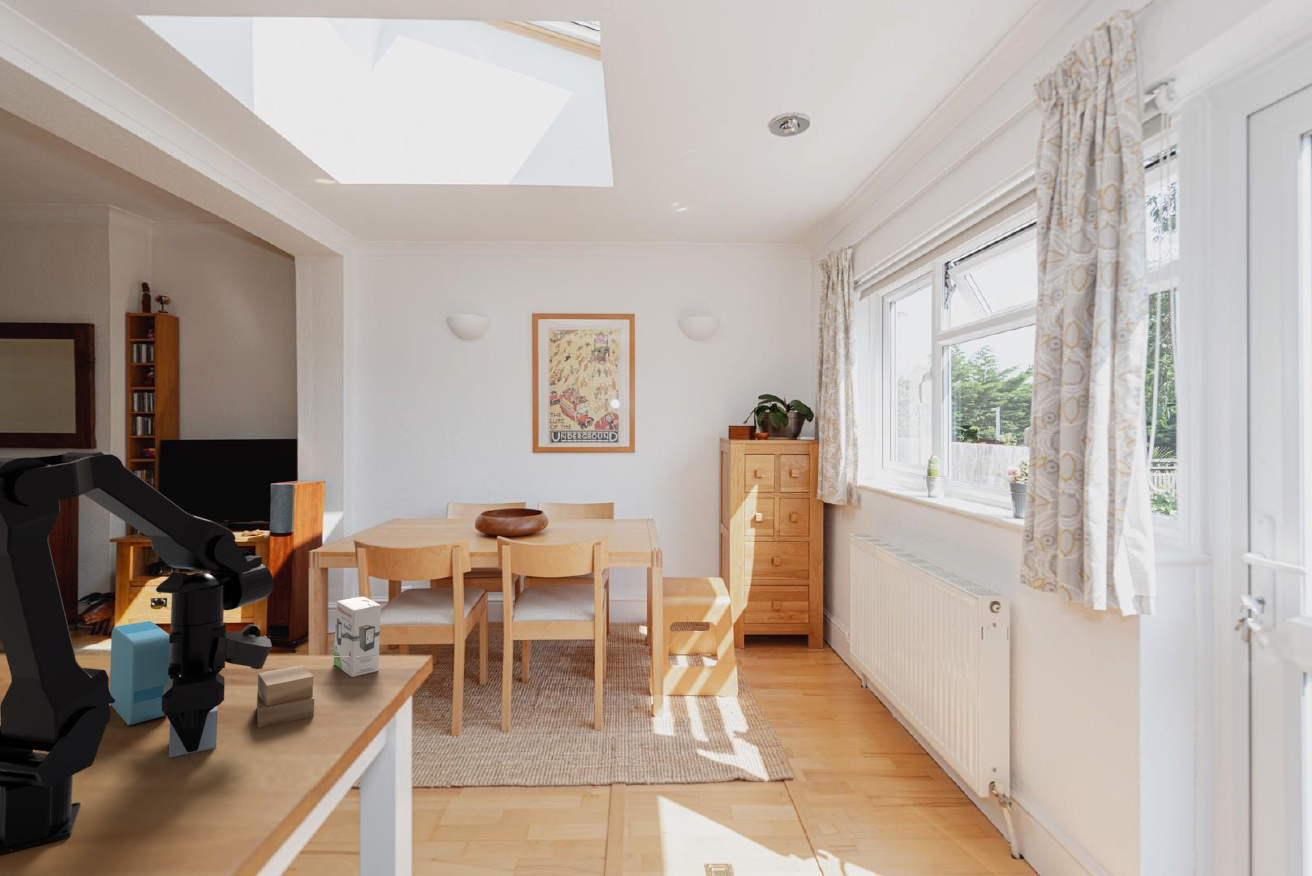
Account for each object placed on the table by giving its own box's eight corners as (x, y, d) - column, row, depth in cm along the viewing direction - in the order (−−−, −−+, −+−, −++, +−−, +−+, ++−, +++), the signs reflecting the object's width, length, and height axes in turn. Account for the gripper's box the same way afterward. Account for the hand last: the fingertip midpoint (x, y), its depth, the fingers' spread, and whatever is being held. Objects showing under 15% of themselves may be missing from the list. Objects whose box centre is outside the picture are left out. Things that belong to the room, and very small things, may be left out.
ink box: (332, 664, 114) (334, 599, 114) (360, 658, 118) (362, 595, 118) (351, 678, 108) (353, 609, 108) (380, 671, 112) (382, 604, 112)
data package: (169, 718, 91) (172, 635, 91) (129, 729, 88) (132, 643, 88) (146, 695, 99) (148, 618, 99) (108, 704, 95) (111, 624, 95)
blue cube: (216, 748, 83) (217, 710, 83) (168, 758, 81) (170, 719, 81) (216, 733, 88) (217, 697, 88) (171, 742, 85) (172, 704, 85)
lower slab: (313, 718, 93) (314, 698, 93) (257, 729, 90) (258, 708, 90) (309, 701, 99) (309, 682, 99) (256, 711, 95) (257, 691, 95)
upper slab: (312, 696, 94) (313, 676, 94) (266, 706, 90) (267, 685, 90) (302, 684, 99) (302, 664, 99) (257, 693, 95) (258, 673, 95)
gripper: (273, 629, 81) (269, 751, 81) (264, 597, 96) (260, 698, 96) (163, 643, 75) (159, 775, 75) (172, 606, 90) (169, 715, 90)
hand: (193, 736), depth 84 cm, fingers open, 9 cm apart
